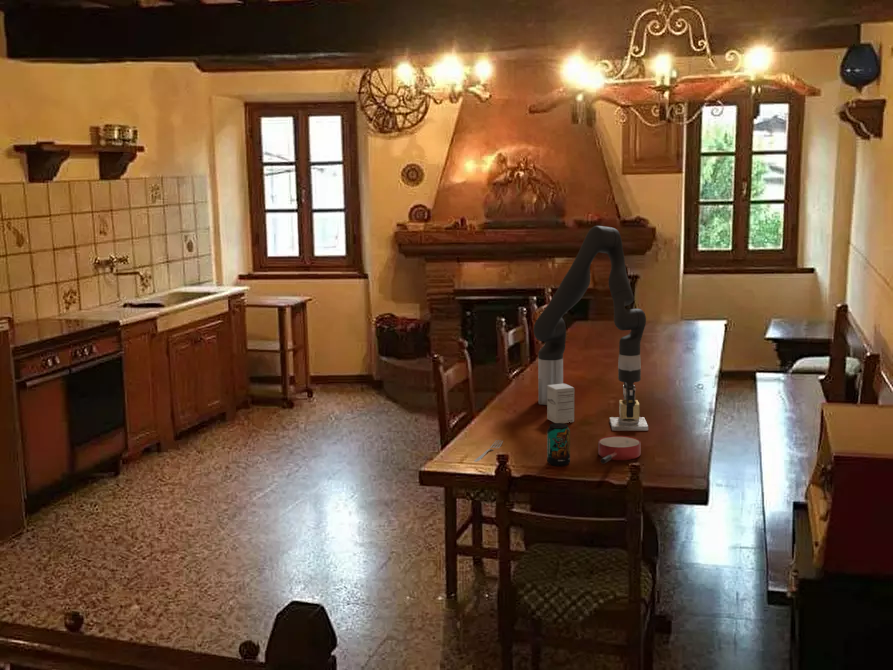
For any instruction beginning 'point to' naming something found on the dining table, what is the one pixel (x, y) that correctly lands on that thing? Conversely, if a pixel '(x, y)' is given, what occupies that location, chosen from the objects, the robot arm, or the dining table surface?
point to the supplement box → (560, 403)
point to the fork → (488, 450)
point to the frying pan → (618, 448)
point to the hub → (624, 409)
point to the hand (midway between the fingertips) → (629, 414)
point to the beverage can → (558, 444)
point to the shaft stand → (628, 424)
